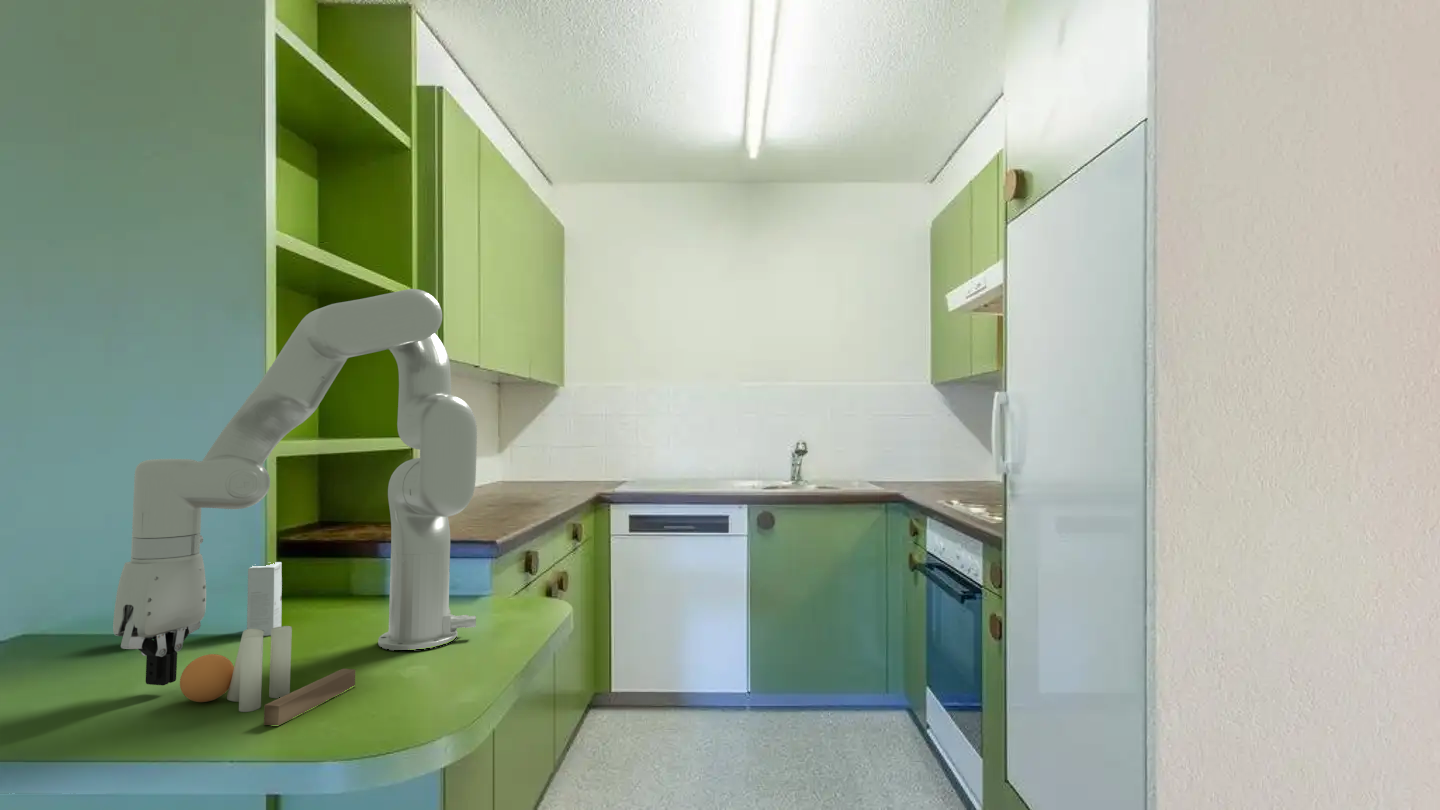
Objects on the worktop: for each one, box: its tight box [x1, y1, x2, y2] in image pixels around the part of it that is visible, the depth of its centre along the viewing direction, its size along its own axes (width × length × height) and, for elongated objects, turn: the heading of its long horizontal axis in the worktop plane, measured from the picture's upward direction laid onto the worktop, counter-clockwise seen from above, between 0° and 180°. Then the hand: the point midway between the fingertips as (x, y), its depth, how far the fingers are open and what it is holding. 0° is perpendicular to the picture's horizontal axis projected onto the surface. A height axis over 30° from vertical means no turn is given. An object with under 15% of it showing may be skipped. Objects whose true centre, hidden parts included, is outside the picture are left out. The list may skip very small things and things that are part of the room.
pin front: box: [226, 628, 264, 702], centre depth 96 cm, size 2×2×9 cm
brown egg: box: [179, 653, 235, 703], centre depth 95 cm, size 6×6×6 cm
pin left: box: [238, 636, 264, 713], centre depth 93 cm, size 2×2×9 cm
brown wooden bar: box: [263, 668, 356, 726], centre depth 94 cm, size 2×14×2 cm, turn 170°
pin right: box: [268, 625, 293, 699], centre depth 98 cm, size 2×2×9 cm
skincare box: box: [246, 561, 283, 637], centre depth 129 cm, size 6×4×12 cm
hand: (160, 682), depth 98 cm, fingers closed
